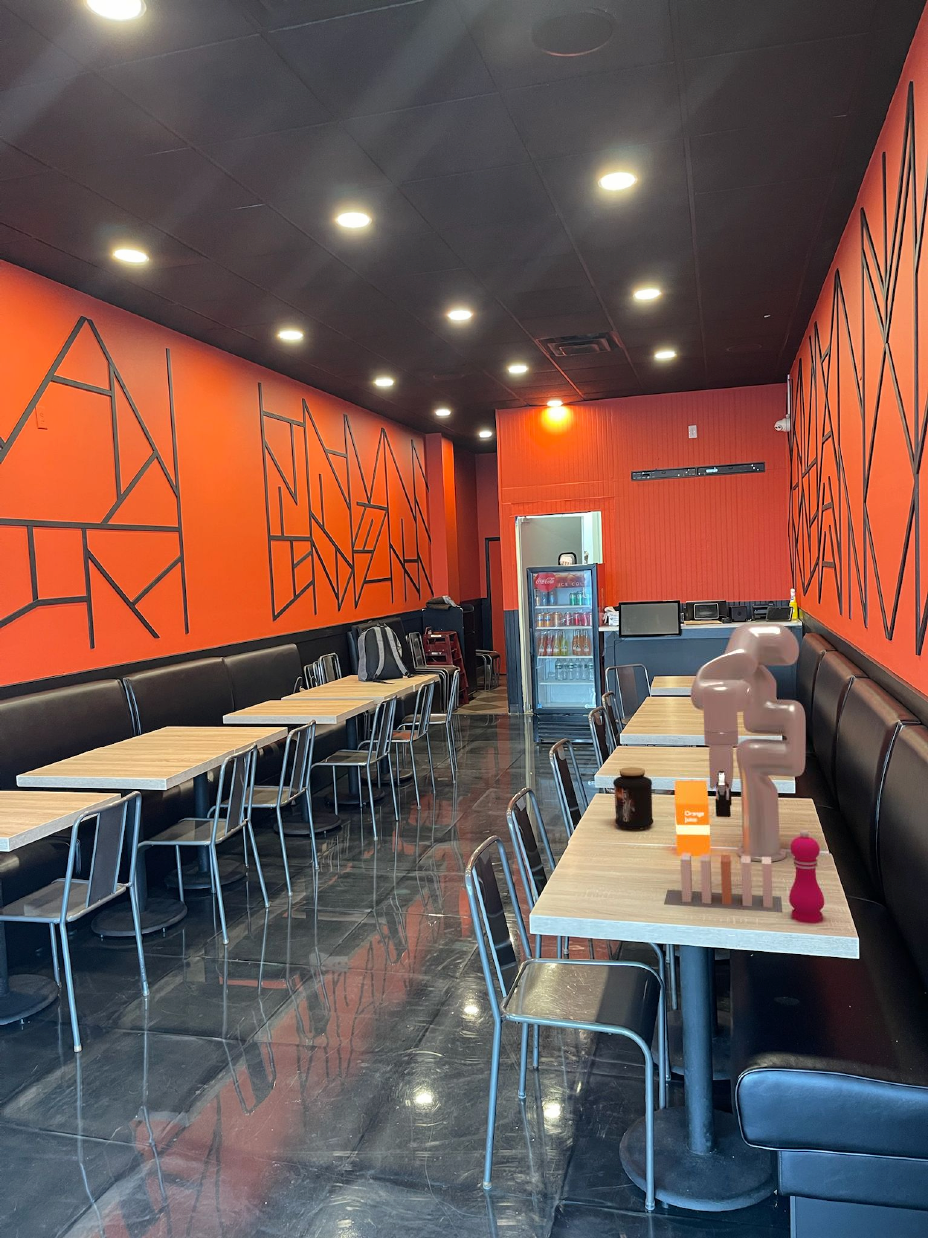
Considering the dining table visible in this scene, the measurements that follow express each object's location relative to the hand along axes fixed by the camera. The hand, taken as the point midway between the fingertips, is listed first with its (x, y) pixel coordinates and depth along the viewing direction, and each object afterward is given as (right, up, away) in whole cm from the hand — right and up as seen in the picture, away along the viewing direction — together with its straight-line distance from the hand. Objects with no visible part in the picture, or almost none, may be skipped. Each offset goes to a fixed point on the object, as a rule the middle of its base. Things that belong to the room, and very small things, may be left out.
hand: (724, 811), depth 202 cm
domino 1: (-8, -21, +3) cm, 23 cm away
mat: (0, -22, +1) cm, 22 cm away
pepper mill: (+15, -22, -11) cm, 29 cm away
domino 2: (-3, -21, +2) cm, 22 cm away
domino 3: (+1, -21, +1) cm, 21 cm away
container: (-8, -20, +67) cm, 70 cm away
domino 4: (+5, -21, -1) cm, 22 cm away
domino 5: (+9, -21, -2) cm, 23 cm away
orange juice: (+3, -20, +40) cm, 45 cm away
